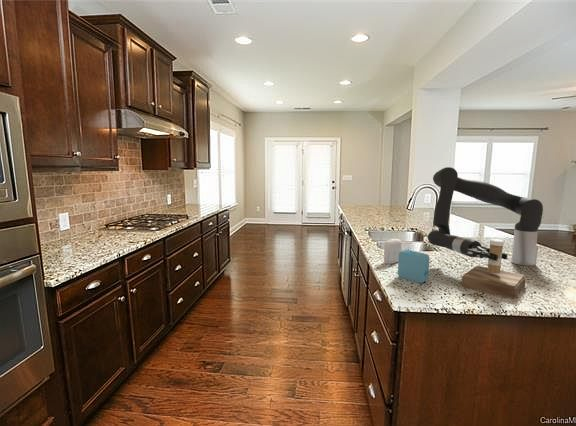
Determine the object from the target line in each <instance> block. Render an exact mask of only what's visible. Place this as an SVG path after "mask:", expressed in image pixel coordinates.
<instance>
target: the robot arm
mask: <svg viewBox="0 0 576 426" xmlns="http://www.w3.org/2000/svg"><path fill="white" fill-rule="evenodd" d="M458 175H459V174H458V171H457V170H456V168H454V167H451V166H446V167H443V168H441V169H439V170H438V171H436V172H435V173H433V176H432V182H433V184H435V185H436V186H437V187H438V188H439V189H440V191H439V196H438V199H437V202H436V204H435V208H434V211H433V219H432V220H433V221H432V224H433V226H435V227H436V228H437V229H438V230H432V231H430V232H429V233H428V235H427V240H428V241H427V242H429V244H431V245H432V246H437V247H441V248H445V249H448V250H450V251H453V252H456V253H458V254H461V255H463V256H467V257H469V258H479V259H483V258H484V259H492V260H498V255H496V254H492V253H489V251H490V247H487V246H485V245H482V244H481V243H480V242H479V241H478V240H476V239H475V240H474V239H471V238H467V237H462V236H458V235H453V234H451V229H450V225H449V223H450V214H451V213H450V212H451V207H452V206H451V205H452V201H453V196H454V192H458V193H460V194H462V195H465V196H467V197H470V198H472V199H476V200H477V201H480V202H483V203H487V204H490V205H494V206H498V207H503V208H505V209H507V210H509V211H512V212H514V213H515V214H517V215H518V216H520V217H519V218H520V219H519V222H516V223H515V224H514V230H513V231H514V233H513V242H512V251H511V252H512V253H511V263H512V264H514V265H520V266H526V267H527V266H528V267H529V266H530V267H531V266H532V267H533V266H535V265H536V266H537V261H538V260H537V259H538V251H539V246H538V245H537V241H538V235H539V234H538V231H539V227H540V226H541V224H542V219H543V211H544V205H543V203H542V201H540V200H538V199H536V198H531V197H525V196H524V197H523V196H520V195H516V194H512V193H509V192H507V191H506V190H503V189H502V188H500V187H499V186H496V185H494V184H491V183H488V182H485V181H482V180H474V179H468V178H467V179H465V178H461V177H458ZM502 259H503V260H507V259H508V253H504V252H502Z"/></svg>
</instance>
